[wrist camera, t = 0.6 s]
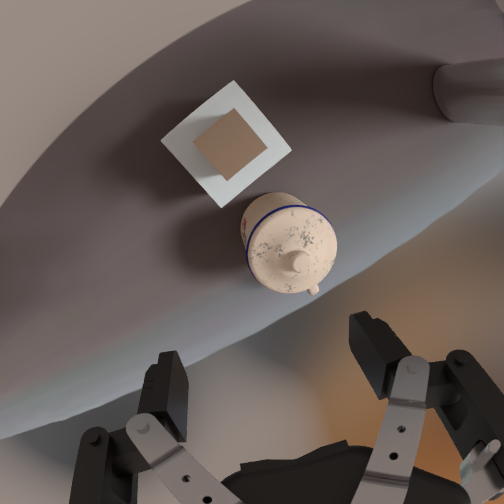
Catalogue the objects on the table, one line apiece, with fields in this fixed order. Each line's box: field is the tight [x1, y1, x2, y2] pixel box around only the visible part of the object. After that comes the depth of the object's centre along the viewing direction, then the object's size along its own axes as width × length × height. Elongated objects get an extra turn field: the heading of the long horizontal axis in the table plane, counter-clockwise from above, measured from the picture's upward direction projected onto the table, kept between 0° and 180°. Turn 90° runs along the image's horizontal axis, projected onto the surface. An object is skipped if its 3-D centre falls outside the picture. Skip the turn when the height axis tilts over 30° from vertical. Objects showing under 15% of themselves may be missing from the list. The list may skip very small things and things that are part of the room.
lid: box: [160, 80, 292, 208], centre depth 25 cm, size 9×9×7 cm
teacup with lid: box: [241, 192, 337, 295], centre depth 32 cm, size 12×9×12 cm
